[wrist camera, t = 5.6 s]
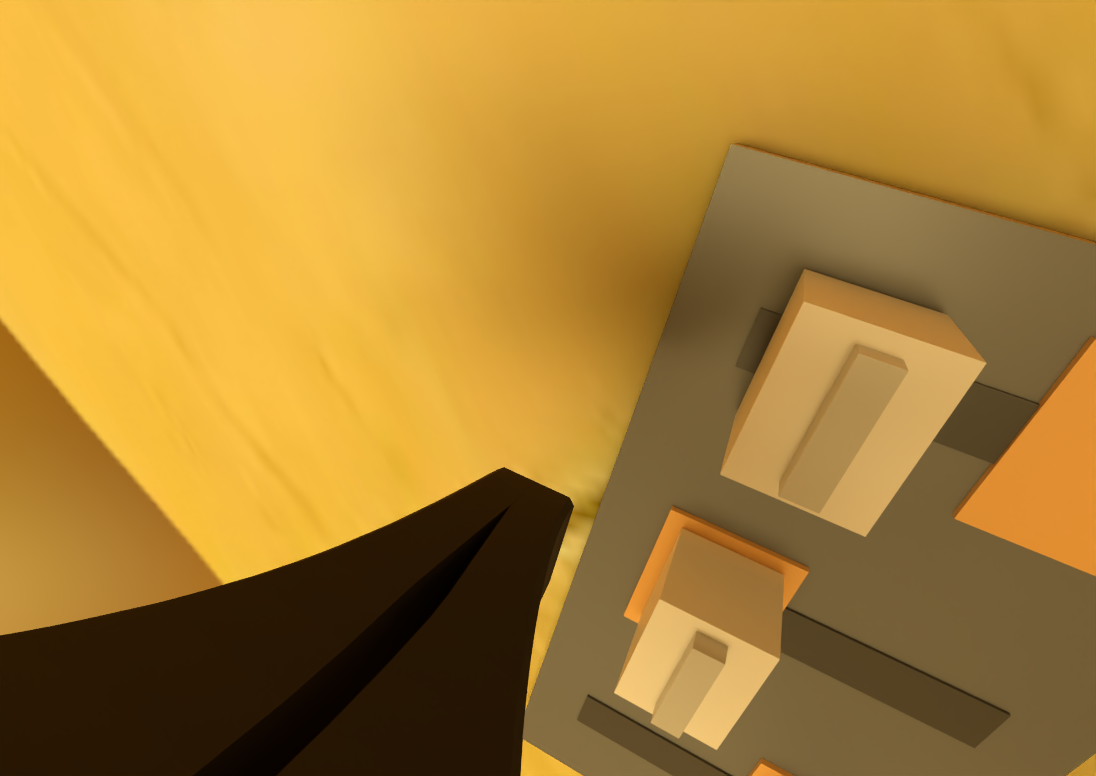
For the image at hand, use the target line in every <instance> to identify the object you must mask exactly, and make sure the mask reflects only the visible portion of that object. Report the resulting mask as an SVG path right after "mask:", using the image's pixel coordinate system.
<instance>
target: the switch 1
mask: <svg viewBox="0 0 1096 776" xmlns="http://www.w3.org/2000/svg"><path fill="white" fill-rule="evenodd" d="M783 591H784V575H783V574H781V573H779V572H777V571H774V570H772V569H770V568H768V567H766V566H764V565H761V564H759V563H757V562H755V561H753V560H751V559H748V558H746V557H744V556H742V555H740V554H738V553H735V552H733V551H731V550H729V549H727V548H725V547H722V546H720V545H718V544H716V543H714V542H712V541H709V540H707V539H705V538H703V537H701V536H699V535H696V534H694V533H692V532H690V531H688V530H686V529H683V528H682V530H681V532H680V534H679V536H678V538H677V540H676V542H675V544H674V547H673V549H672V551H671V553H670V555H669V557H668V559H667V561H666V564H665V566H664V568H663V570H662V572H661V574H660V576H659V578H658V581H657V583H656V585H655V587H654V589H653V591H652V593H651V595H650V598H649V600H648V602H647V604H646V606H645V608H644V610H643V612H642V615H641V617H640V620H639V622H638V625H637V628H636V631H635V634H634V637H633V640H632V643H631V645H630V648H629V651H628V654H627V657H626V660H625V663H624V666H623V668H622V671H621V674H620V677H619V680H618V683H617V686H616V688H615V691H614V693H615V694H617V695H619V696H620V697H622V698H624V699H626V700H628V701H629V702H631V703H633V704H635V705H637V706H638V707H640V708H642V709H644V710H646V711H647V712H649V713H651V714H653V715H652V718H651V722H650V723H652V724H654V725H655V726H657V727H659V728H661V729H662V730H664V731H666V732H668V733H670V734H671V735H673V736H675V737H677V738H680V736H681V735H682V733H683V732H685V733H687V734H689V735H691V736H692V737H694V738H696V739H698V740H699V741H701V742H703V743H705V744H707V745H708V746H710V747H712V748H714V749H716V750H717V749H718V747H719V746H720V745H721V743H722V742H723V740H724V739H725V737H726V736H727V735H728V733H729V732H730V730H731V729H732V727H733V726H734V725H735V723H736V722H737V720H738V719H739V717H740V716H741V714H742V713H743V712H744V710H745V709H746V707H747V706H748V704H749V703H750V702H751V700H752V699H753V697H754V696H755V694H756V693H757V692H758V690H759V689H760V687H761V686H762V684H763V683H764V682H765V680H766V679H767V677H768V676H769V674H770V673H771V672H772V670H773V669H774V667H775V666H776V664H777V663H778V661H779V660H780V650H781V630H782V611H783Z"/></svg>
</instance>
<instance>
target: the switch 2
mask: <svg viewBox="0 0 1096 776" xmlns="http://www.w3.org/2000/svg"><path fill="white" fill-rule="evenodd" d="M985 365H986V362H985V360H984V359H983V358H982V357H981V355H980V354H979V353H978V352H977V350H976V349H975V348H974V347H973V345H972V344H971V343H970V342H969V340H968V339H967V338H966V337H965V336H964V334H963V333H962V332H961V331H960V329H959V328H958V327H957V326H956V324H955V323H954V322H953V321H952V319H951V318H950V317H949V316H948V315H946V314H943V313H940V312H937V311H934V310H931V309H928V308H925V307H922V306H919V305H915V304H912V303H909V302H906V301H903V300H900V299H897V298H894V297H891V296H888V295H884V294H881V293H878V292H875V291H872V290H869V289H866V288H863V287H860V286H857V285H853V284H850V283H847V282H844V281H841V280H838V279H835V278H832V277H829V276H826V275H822V274H819V273H816V272H813V271H810V270H807V269H804V270H803V273H802V275H801V277H800V279H799V281H798V283H797V285H796V287H795V290H794V292H793V294H792V296H791V298H790V300H789V302H788V304H787V307H786V309H785V311H784V313H783V315H782V317H781V319H780V321H779V324H778V326H777V328H776V330H775V332H774V334H773V336H772V338H771V341H770V343H769V345H768V347H767V349H766V351H765V353H764V355H763V358H762V360H761V362H760V364H759V366H758V368H757V370H756V372H755V375H754V377H753V379H752V381H751V383H750V385H749V387H748V389H747V392H746V394H745V396H744V398H743V400H742V402H741V404H740V406H739V409H738V411H737V413H736V415H735V418H734V422H733V426H732V430H731V433H730V437H729V441H728V445H727V449H726V453H725V457H724V460H723V464H722V468H721V472H720V475H722V476H725V477H727V478H729V479H732V480H734V481H736V482H739V483H741V484H743V485H746V486H748V487H750V488H753V489H755V490H757V491H760V492H762V493H764V494H767V495H769V496H771V497H774V498H776V499H778V500H781V501H783V502H785V503H788V504H790V505H792V506H795V507H797V508H799V509H802V510H804V511H806V512H808V513H811V514H813V515H815V516H818V517H820V518H822V519H825V520H827V521H829V522H832V523H834V524H836V525H839V526H841V527H843V528H846V529H848V530H850V531H853V532H855V533H857V534H860V535H862V536H864V537H866V535H867V534H868V532H869V531H870V530H871V528H872V527H873V525H874V524H875V522H876V521H877V520H878V518H879V517H880V515H881V514H882V512H883V511H884V510H885V508H886V507H887V505H888V504H889V502H890V501H891V500H892V498H893V497H894V495H895V494H896V492H897V491H898V490H899V488H900V487H901V485H902V484H903V482H904V481H905V479H906V478H907V477H908V475H909V474H910V472H911V471H912V469H913V468H914V467H915V465H916V464H917V462H918V461H919V459H920V458H921V457H922V455H923V454H924V452H925V451H926V449H927V448H928V447H929V445H930V444H931V442H932V441H933V439H934V438H935V436H936V435H937V434H938V432H939V431H940V429H941V428H942V426H943V425H944V424H945V422H946V421H947V419H948V418H949V416H950V415H951V414H952V412H953V411H954V409H955V408H956V406H957V405H958V404H959V402H960V401H961V399H962V398H963V396H964V395H965V393H966V392H967V391H968V389H969V388H970V386H971V385H972V383H973V382H974V381H975V379H976V378H977V376H978V375H979V373H980V372H981V371H982V369H983V368H984V366H985Z"/></svg>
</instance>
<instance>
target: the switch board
mask: <svg viewBox="0 0 1096 776" xmlns="http://www.w3.org/2000/svg"><path fill="white" fill-rule="evenodd" d="M804 269H807V270H810V271H813V272H816V273H819V274H822V275H826V276H829V277H832V278H835V279H838V280H841V281H844V282H847V283H850V284H853V285H857V286H860V287H863V288H866V289H869V290H872V291H875V292H878V293H881V294H884V295H888V296H891V297H894V298H897V299H900V300H903V301H906V302H909V303H912V304H915V305H919V306H922V307H925V308H928V309H931V310H934V311H937V312H940V313H943V314H946V315H948V316H949V317H950V318H951V319H952V321H953V322H954V323H955V324H956V326H957V327H958V328H959V329H960V331H961V332H962V333H963V334H964V336H965V337H966V338H967V339H968V340H969V342H970V343H971V344H972V345H973V347H974V348H975V349H976V350H977V352H978V353H979V354H980V355H981V357H982V358H983V359H984V360H985V362H986V365H985V366H984V368H983V369H982V371H981V372H980V373H979V375H978V376H977V378H976V379H975V381H974V382H973V383H972V385H971V386H970V388H969V389H968V391H967V392H966V393H965V395H964V396H963V398H962V399H961V401H960V402H959V404H958V405H957V406H956V408H955V409H954V411H953V412H952V414H951V415H950V416H949V418H948V419H947V421H946V422H945V424H944V425H943V426H942V428H941V429H940V431H939V432H938V434H937V435H936V436H935V438H934V439H933V441H932V442H931V444H930V445H929V447H928V448H927V449H926V451H925V452H924V454H923V455H922V457H921V458H920V459H919V461H918V462H917V464H916V465H915V467H914V468H913V469H912V471H911V472H910V474H909V475H908V477H907V478H906V479H905V481H904V482H903V484H902V485H901V487H900V488H899V490H898V491H897V492H896V494H895V495H894V497H893V498H892V500H891V501H890V502H889V504H888V505H887V507H886V508H885V510H884V511H883V512H882V514H881V515H880V517H879V518H878V520H877V521H876V522H875V524H874V525H873V527H872V528H871V530H870V531H869V532H868V534H867V535H866V537H864V536H862V535H860V534H857V533H855V532H853V531H850V530H848V529H846V528H843V527H841V526H839V525H836V524H834V523H832V522H829V521H827V520H825V519H822V518H820V517H818V516H815V515H813V514H811V513H808V512H806V511H804V510H802V509H799V508H797V507H795V506H792V505H790V504H788V503H785V502H783V501H781V500H778V499H776V498H774V497H771V496H769V495H767V494H764V493H762V492H760V491H757V490H755V489H753V488H750V487H748V486H746V485H743V484H741V483H739V482H736V481H734V480H732V479H729V478H727V477H725V476H722V475H720V472H721V468H722V464H723V460H724V457H725V453H726V449H727V445H728V441H729V437H730V433H731V430H732V426H733V422H734V418H735V415H736V413H737V411H738V409H739V406H740V404H741V402H742V400H743V398H744V396H745V394H746V392H747V389H748V387H749V385H750V383H751V381H752V379H753V377H754V375H755V372H756V370H757V368H758V366H759V364H760V362H761V360H762V358H763V355H764V353H765V351H766V349H767V347H768V345H769V343H770V341H771V338H772V336H773V334H774V332H775V330H776V328H777V326H778V324H779V321H780V319H781V317H782V315H783V313H784V311H785V309H786V307H787V304H788V302H789V300H790V298H791V296H792V294H793V292H794V290H795V287H796V285H797V283H798V281H799V279H800V277H801V275H802V273H803V270H804ZM682 528H683V529H686V530H688V531H690V532H692V533H694V534H696V535H699V536H701V537H703V538H705V539H707V540H709V541H712V542H714V543H716V544H718V545H720V546H722V547H725V548H727V549H729V550H731V551H733V552H735V553H738V554H740V555H742V556H744V557H746V558H748V559H751V560H753V561H755V562H757V563H759V564H761V565H764V566H766V567H768V568H770V569H772V570H774V571H777V572H779V573H781V574H783V575H784V591H783V611H782V630H781V650H780V660H779V661H778V663H777V664H776V666H775V667H774V669H773V670H772V672H771V673H770V674H769V676H768V677H767V679H766V680H765V682H764V683H763V684H762V686H761V687H760V689H759V690H758V692H757V693H756V694H755V696H754V697H753V699H752V700H751V702H750V703H749V704H748V706H747V707H746V709H745V710H744V712H743V713H742V714H741V716H740V717H739V719H738V720H737V722H736V723H735V725H734V726H733V727H732V729H731V730H730V732H729V733H728V735H727V736H726V737H725V739H724V740H723V742H722V743H721V745H720V746H719V747H718V749H717V750H716V749H714V748H712V747H710V746H708V745H707V744H705V743H703V742H701V741H699V740H698V739H696V738H694V737H692V736H691V735H689V734H687V733H685V732H683V733H682V735H681V736H680V738H677V737H675V736H673V735H671V734H670V733H668V732H666V731H664V730H662V729H661V728H659V727H657V726H655V725H654V724H652V723H650V722H651V718H652V715H653V714H651V713H649V712H647V711H646V710H644V709H642V708H640V707H638V706H637V705H635V704H633V703H631V702H629V701H628V700H626V699H624V698H622V697H620V696H619V695H617V694H615V693H614V691H615V688H616V686H617V683H618V680H619V677H620V674H621V671H622V668H623V666H624V663H625V660H626V657H627V654H628V651H629V648H630V645H631V643H632V640H633V637H634V634H635V631H636V628H637V625H638V622H639V620H640V617H641V615H642V612H643V610H644V608H645V606H646V604H647V602H648V600H649V598H650V595H651V593H652V591H653V589H654V587H655V585H656V583H657V581H658V578H659V576H660V574H661V572H662V570H663V568H664V566H665V564H666V561H667V559H668V557H669V555H670V553H671V551H672V549H673V547H674V544H675V542H676V540H677V538H678V536H679V534H680V532H681V530H682ZM523 739H524V740H526V741H527V742H529V743H530V744H532V745H534V746H535V747H537V748H539V749H540V750H542V751H544V752H545V753H547V754H549V755H550V756H552V757H554V758H555V759H557V760H559V761H560V762H562V763H564V764H565V765H567V766H568V767H570V768H572V769H573V770H575V771H577V772H578V773H580V774H582V775H583V776H1066V775H1068V774H1069V773H1070V772H1072V771H1073V770H1074V769H1075V768H1077V767H1078V766H1079V765H1081V764H1082V763H1083V762H1085V761H1086V760H1087V759H1089V758H1090V757H1091V756H1093V755H1094V754H1095V753H1096V242H1094V241H1090V240H1087V239H1083V238H1079V237H1076V236H1072V235H1069V234H1065V233H1061V232H1058V231H1054V230H1050V229H1047V228H1043V227H1039V226H1036V225H1032V224H1029V223H1025V222H1021V221H1018V220H1014V219H1010V218H1007V217H1003V216H1000V215H996V214H992V213H989V212H985V211H981V210H978V209H974V208H970V207H967V206H963V205H960V204H956V203H952V202H949V201H945V200H941V199H938V198H934V197H931V196H927V195H923V194H920V193H916V192H912V191H909V190H905V189H901V188H898V187H894V186H891V185H887V184H883V183H880V182H876V181H872V180H869V179H865V178H862V177H858V176H854V175H851V174H847V173H843V172H840V171H836V170H833V169H829V168H825V167H822V166H818V165H814V164H811V163H807V162H803V161H800V160H796V159H793V158H789V157H785V156H782V155H778V154H774V153H771V152H767V151H764V150H760V149H756V148H753V147H749V146H745V145H742V144H731V146H730V148H729V151H728V154H727V157H726V159H725V162H724V165H723V168H722V170H721V173H720V176H719V179H718V181H717V184H716V187H715V190H714V192H713V195H712V198H711V201H710V203H709V206H708V209H707V212H706V215H705V217H704V220H703V223H702V226H701V228H700V231H699V234H698V237H697V239H696V242H695V245H694V248H693V250H692V253H691V256H690V259H689V261H688V264H687V267H686V270H685V272H684V275H683V278H682V281H681V283H680V286H679V289H678V292H677V295H676V297H675V300H674V303H673V306H672V308H671V311H670V314H669V317H668V319H667V322H666V325H665V328H664V330H663V333H662V336H661V339H660V341H659V344H658V347H657V350H656V352H655V355H654V358H653V361H652V363H651V366H650V369H649V372H648V374H647V377H646V380H645V383H644V386H643V388H642V391H641V394H640V397H639V399H638V402H637V405H636V408H635V410H634V413H633V416H632V419H631V421H630V424H629V427H628V430H627V432H626V435H625V438H624V441H623V443H622V446H621V449H620V452H619V454H618V457H617V460H616V463H615V465H614V468H613V471H612V474H611V477H610V479H609V482H608V485H607V488H606V490H605V493H604V496H603V499H602V501H601V504H600V507H599V510H598V512H597V515H596V518H595V521H594V523H593V526H592V529H591V532H590V534H589V537H588V540H587V543H586V545H585V548H584V551H583V554H582V557H581V559H580V562H579V565H578V568H577V570H576V573H575V576H574V579H573V581H572V584H571V587H570V590H569V592H568V595H567V598H566V601H565V603H564V606H563V609H562V612H561V614H560V617H559V620H558V623H557V625H556V628H555V631H554V634H553V636H552V639H551V642H550V645H549V648H548V650H547V653H546V656H545V659H544V661H543V664H542V667H541V670H540V672H539V675H538V678H537V681H536V683H535V686H534V689H533V692H532V694H531V697H530V700H529V703H528V705H527V708H526V711H525V717H524V729H523Z"/></svg>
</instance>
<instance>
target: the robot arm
mask: <svg viewBox="0 0 1096 776" xmlns="http://www.w3.org/2000/svg"><path fill="white" fill-rule="evenodd" d="M573 507H574V505H573V503H572V501H571V499H570V498H569V497H567V496H565V495H563V494H561V493H559V492H556V491H554V490H552V489H550V488H548V487H546V486H543V485H541V484H539V483H537V482H535V481H533V480H530V479H528V478H526V477H524V476H522V475H520V474H517V473H515V472H513V471H511V470H509V469H507V468H505V467H503V468H501V469H498V470H496V471H494V472H492V473H490V474H488V475H486V476H484V477H482V478H481V479H479V480H477V481H475V482H473V483H471V484H469V485H468V486H466V487H464V488H462V489H460V490H458V491H456V492H454V493H452V494H450V495H448V496H446V497H444V498H443V499H441V500H439V501H437V502H435V503H433V504H431V505H428V506H426V507H424V508H422V509H420V510H418V511H416V512H414V513H412V514H410V515H408V516H406V517H403V518H401V519H399V520H397V521H395V522H393V523H391V524H388V525H386V526H384V527H382V528H379V529H377V530H375V531H372V532H370V533H367V534H365V535H363V536H360V537H358V538H356V539H353V540H351V541H349V542H346V543H344V544H341V545H339V546H337V547H334V548H332V549H329V550H326V551H324V552H321V553H318V554H316V555H313V556H311V557H308V558H305V559H302V560H299V561H297V562H294V563H291V564H288V565H285V566H282V567H279V568H276V569H273V570H270V571H267V572H264V573H261V574H258V575H255V576H252V577H248V578H245V579H242V580H238V581H235V582H231V583H228V584H225V585H221V586H218V587H215V588H211V589H208V590H204V591H201V592H197V593H193V594H190V595H186V596H182V597H178V598H175V599H171V600H167V601H164V602H159V603H155V604H151V605H146V606H142V607H137V608H133V609H129V610H124V611H119V612H115V613H111V614H106V615H102V616H98V617H93V618H88V619H84V620H79V621H74V622H69V623H65V624H60V625H55V626H50V627H45V628H39V629H34V630H29V631H24V632H18V633H12V634H7V635H0V776H520V773H521V757H522V742H523V729H524V717H525V706H526V695H527V686H528V677H529V669H530V661H531V654H532V647H533V640H534V634H535V627H536V621H537V616H538V610H539V605H540V601H541V599H542V597H543V595H544V592H545V590H546V588H547V586H548V584H549V582H550V579H551V576H552V572H553V569H554V566H555V563H556V560H557V557H558V554H559V551H560V548H561V545H562V542H563V538H564V535H565V532H566V529H567V526H568V523H569V520H570V517H571V514H572V511H573Z"/></svg>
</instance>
